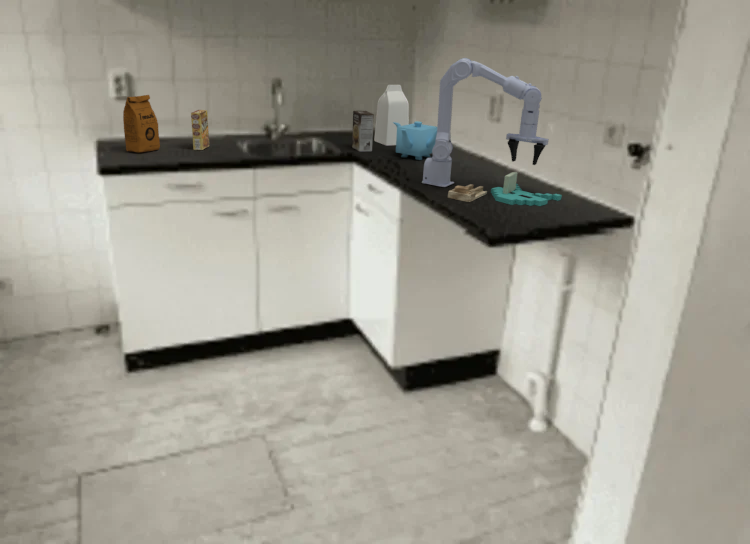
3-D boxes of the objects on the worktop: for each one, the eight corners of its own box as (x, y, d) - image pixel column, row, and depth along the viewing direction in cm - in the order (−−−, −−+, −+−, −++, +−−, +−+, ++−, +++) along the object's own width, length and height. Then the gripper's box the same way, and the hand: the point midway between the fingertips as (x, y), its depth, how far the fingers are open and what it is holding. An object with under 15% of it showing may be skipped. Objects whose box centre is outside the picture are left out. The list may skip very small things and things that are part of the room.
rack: (447, 197, 225) (448, 191, 224) (465, 189, 236) (466, 183, 235) (469, 202, 221) (470, 195, 220) (486, 193, 232) (487, 187, 231)
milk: (386, 145, 304) (389, 86, 294) (374, 140, 313) (376, 83, 303) (408, 144, 309) (412, 86, 300) (396, 139, 319) (399, 83, 309)
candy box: (202, 150, 277) (200, 113, 271) (192, 149, 277) (190, 112, 272) (209, 146, 285) (207, 109, 279) (200, 145, 285) (198, 109, 280)
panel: (502, 193, 228) (504, 175, 225) (511, 188, 234) (513, 171, 232) (506, 193, 227) (509, 176, 225) (515, 189, 233) (517, 172, 231)
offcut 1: (454, 191, 224) (454, 187, 223) (457, 189, 226) (457, 185, 226) (466, 193, 222) (466, 189, 222) (469, 191, 225) (469, 187, 224)
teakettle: (430, 152, 295) (433, 118, 289) (442, 161, 277) (445, 125, 272) (389, 152, 291) (390, 117, 285) (398, 161, 274) (400, 125, 268)
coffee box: (351, 147, 296) (352, 110, 290) (364, 146, 299) (366, 110, 293) (359, 151, 289) (360, 113, 282) (372, 151, 291) (374, 113, 285)
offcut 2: (453, 195, 225) (453, 191, 224) (457, 193, 227) (458, 189, 227) (466, 198, 222) (467, 194, 222) (471, 196, 225) (471, 192, 224)
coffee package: (164, 150, 274) (159, 95, 265) (138, 155, 264) (133, 98, 256) (148, 147, 279) (143, 92, 270) (122, 151, 269) (117, 95, 261)
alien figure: (512, 189, 243) (478, 197, 229) (513, 183, 242) (479, 191, 228) (560, 201, 230) (528, 211, 216) (561, 195, 229) (529, 204, 215)
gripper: (504, 122, 228) (500, 161, 233) (545, 127, 221) (539, 168, 226) (512, 119, 234) (507, 158, 239) (552, 125, 227) (547, 164, 232)
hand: (524, 162), depth 233 cm, fingers open, 7 cm apart
